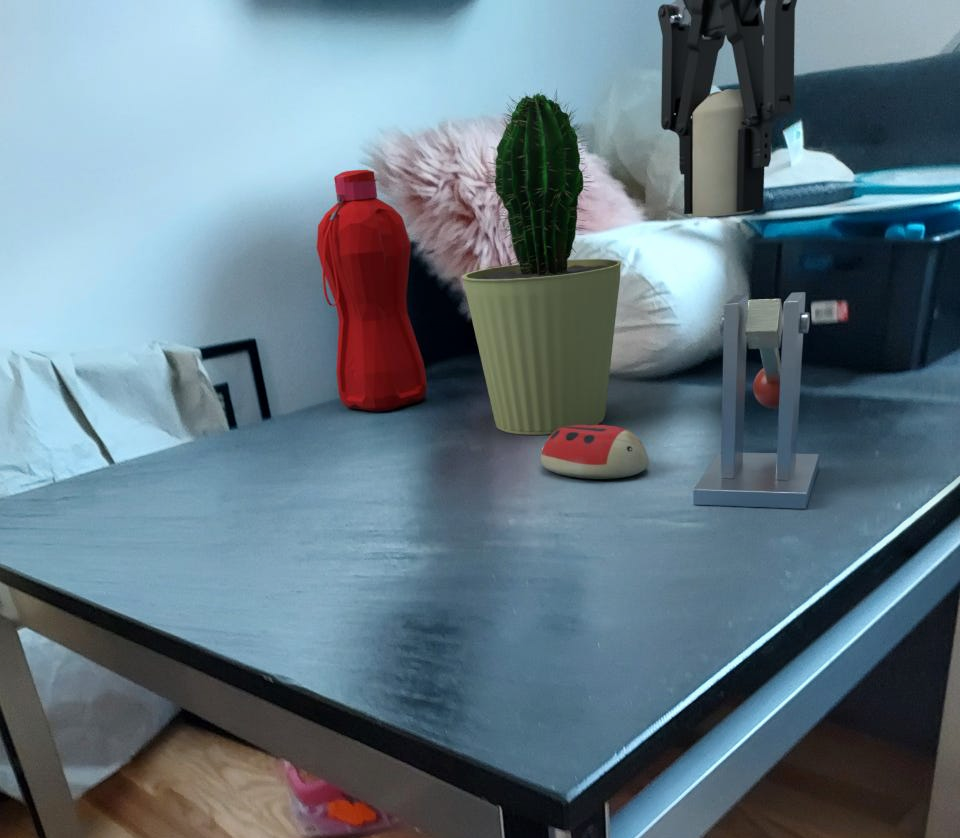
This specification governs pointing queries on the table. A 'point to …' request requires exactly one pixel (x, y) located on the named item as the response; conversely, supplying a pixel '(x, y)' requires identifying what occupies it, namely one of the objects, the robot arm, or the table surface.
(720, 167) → the candle
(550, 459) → the ladybug figurine
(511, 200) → the potted cactus
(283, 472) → the table surface
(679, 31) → the robot arm
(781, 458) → the bracket
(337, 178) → the water bottle
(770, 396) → the lever
